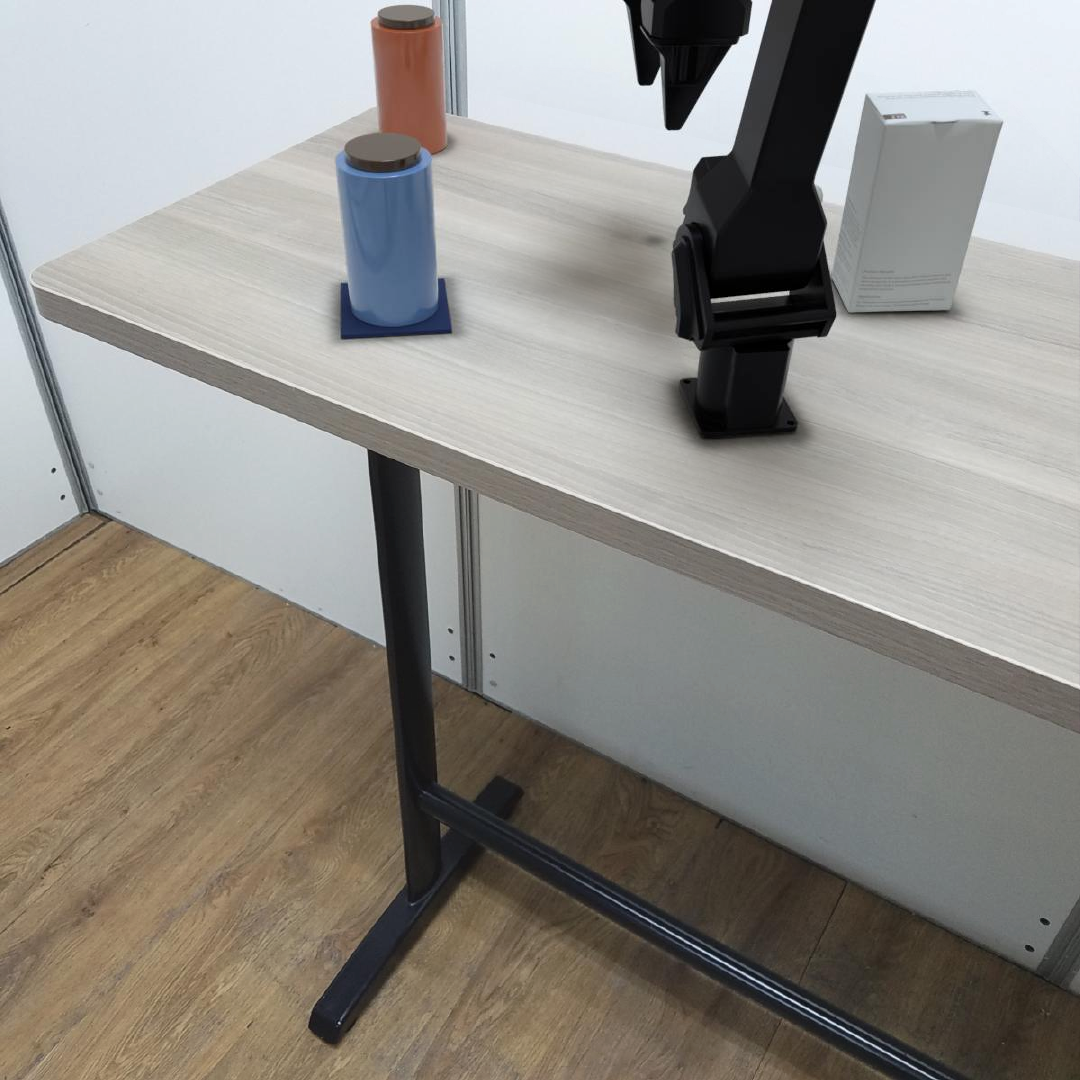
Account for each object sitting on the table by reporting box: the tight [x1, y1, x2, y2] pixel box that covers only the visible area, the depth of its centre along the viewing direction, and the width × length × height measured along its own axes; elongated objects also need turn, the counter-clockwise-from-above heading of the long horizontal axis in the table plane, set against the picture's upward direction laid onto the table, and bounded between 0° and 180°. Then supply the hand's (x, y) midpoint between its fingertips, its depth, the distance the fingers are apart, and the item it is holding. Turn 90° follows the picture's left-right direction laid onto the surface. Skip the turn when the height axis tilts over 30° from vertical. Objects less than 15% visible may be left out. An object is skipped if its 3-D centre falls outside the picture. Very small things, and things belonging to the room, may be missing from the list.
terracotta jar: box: [369, 4, 448, 155], centre depth 102 cm, size 7×7×12 cm
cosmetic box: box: [831, 89, 1005, 313], centre depth 79 cm, size 8×6×15 cm
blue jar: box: [334, 132, 439, 327], centre depth 77 cm, size 7×7×12 cm
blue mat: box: [340, 277, 453, 340], centre depth 81 cm, size 8×8×1 cm
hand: (658, 106), depth 78 cm, fingers open, 9 cm apart
